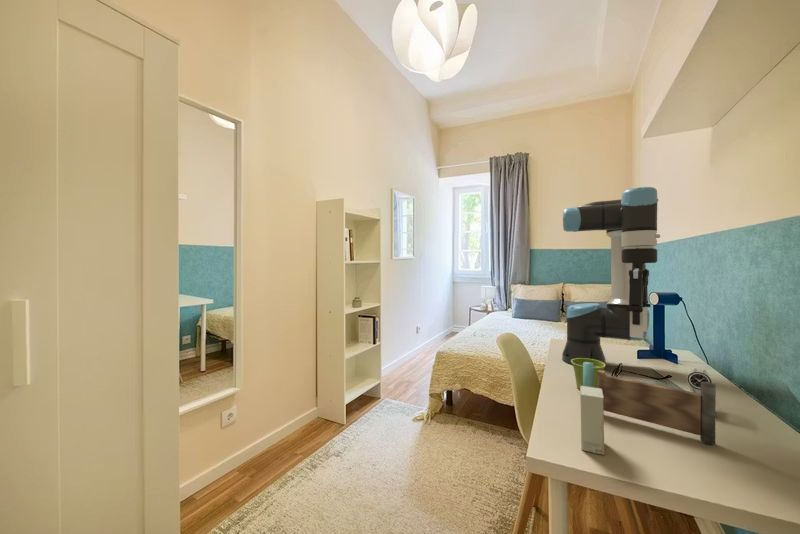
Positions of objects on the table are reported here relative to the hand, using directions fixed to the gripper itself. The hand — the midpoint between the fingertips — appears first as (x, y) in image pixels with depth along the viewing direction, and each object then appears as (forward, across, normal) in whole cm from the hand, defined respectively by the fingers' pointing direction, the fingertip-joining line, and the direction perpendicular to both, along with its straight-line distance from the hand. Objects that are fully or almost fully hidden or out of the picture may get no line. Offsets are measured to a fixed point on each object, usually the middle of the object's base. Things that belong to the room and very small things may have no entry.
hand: (638, 334), depth 84 cm
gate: (+21, -6, -3) cm, 22 cm away
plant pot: (+22, +10, +14) cm, 28 cm away
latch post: (+21, -6, +10) cm, 25 cm away
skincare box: (+22, -24, +6) cm, 33 cm away
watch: (+22, +14, -12) cm, 28 cm away
